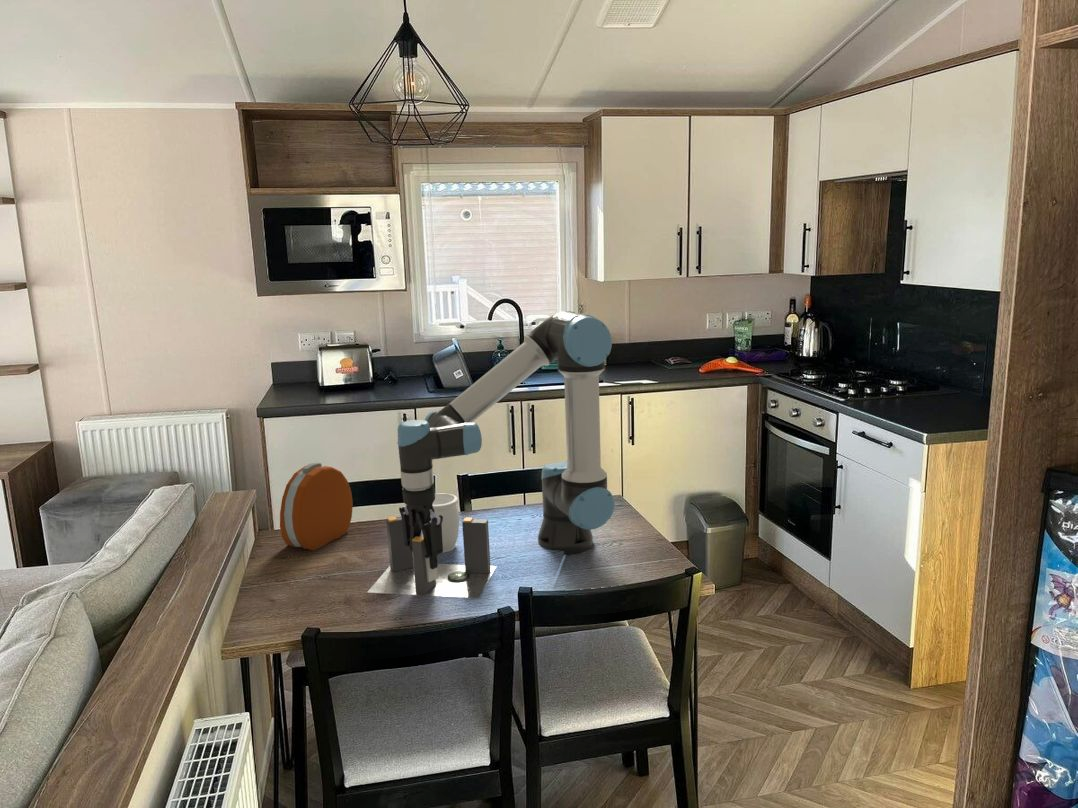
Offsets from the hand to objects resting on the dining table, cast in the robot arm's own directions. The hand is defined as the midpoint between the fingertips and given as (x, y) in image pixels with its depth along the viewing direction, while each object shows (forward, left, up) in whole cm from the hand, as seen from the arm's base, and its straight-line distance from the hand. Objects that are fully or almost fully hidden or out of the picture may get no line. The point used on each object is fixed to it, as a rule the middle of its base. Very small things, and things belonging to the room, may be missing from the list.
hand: (426, 577), depth 198 cm
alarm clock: (+43, -31, -5) cm, 53 cm away
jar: (+4, -26, -5) cm, 26 cm away
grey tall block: (+10, -11, -3) cm, 15 cm away
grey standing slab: (0, 0, -3) cm, 3 cm away
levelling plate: (0, -6, -4) cm, 7 cm away
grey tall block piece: (-10, -11, -3) cm, 15 cm away
